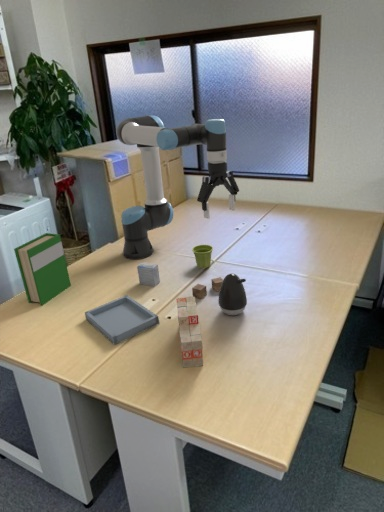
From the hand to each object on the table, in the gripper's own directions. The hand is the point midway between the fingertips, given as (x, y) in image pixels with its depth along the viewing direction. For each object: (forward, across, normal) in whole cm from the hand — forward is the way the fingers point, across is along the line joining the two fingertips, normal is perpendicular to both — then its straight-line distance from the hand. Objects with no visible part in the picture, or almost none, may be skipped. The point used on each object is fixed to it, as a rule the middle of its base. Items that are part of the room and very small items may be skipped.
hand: (219, 213), depth 164 cm
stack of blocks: (+28, -41, -31) cm, 59 cm away
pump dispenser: (+28, -17, -26) cm, 42 cm away
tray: (+28, -51, -2) cm, 58 cm away
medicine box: (+28, -27, +16) cm, 42 cm away
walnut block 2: (+28, -10, -8) cm, 31 cm away
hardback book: (+28, -63, +39) cm, 79 cm away
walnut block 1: (+28, -19, -8) cm, 34 cm away
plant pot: (+28, 0, +13) cm, 31 cm away
